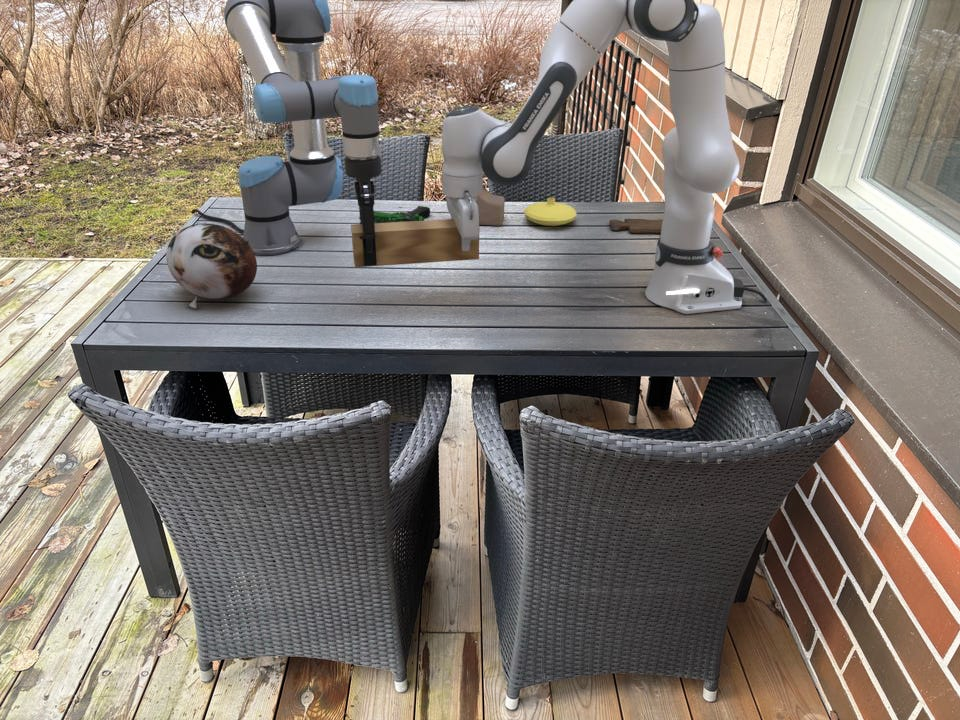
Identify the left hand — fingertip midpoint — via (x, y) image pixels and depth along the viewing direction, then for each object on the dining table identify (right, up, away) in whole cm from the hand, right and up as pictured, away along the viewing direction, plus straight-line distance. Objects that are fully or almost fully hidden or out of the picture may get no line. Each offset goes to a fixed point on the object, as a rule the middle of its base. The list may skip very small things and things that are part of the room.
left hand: (369, 259), depth 160 cm
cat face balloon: (-37, -7, +9) cm, 39 cm away
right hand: (+21, +4, +3) cm, 21 cm away
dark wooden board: (+76, +16, +52) cm, 94 cm away
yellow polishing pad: (+46, +19, +56) cm, 75 cm away
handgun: (+1, +20, +56) cm, 60 cm away
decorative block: (+24, +19, +56) cm, 64 cm away
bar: (+10, 0, +2) cm, 11 cm away
